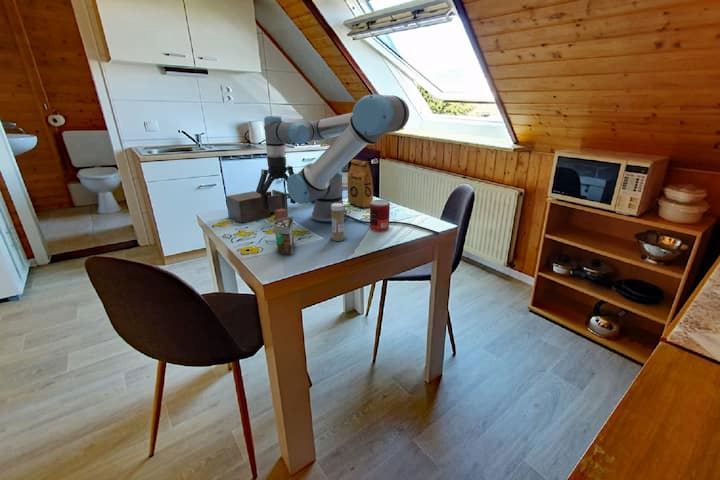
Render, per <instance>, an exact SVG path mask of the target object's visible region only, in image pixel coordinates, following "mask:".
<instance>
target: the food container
mask: <svg viewBox="0 0 720 480" xmlns="http://www.w3.org/2000/svg"><path fill="white" fill-rule="evenodd" d="M293 219H294V218H293V216H288V217H285V218H280V219H278V220H277V219H275V220H274V221H273V224H272V231H273V232H274V235H275V241H276V247H277V251H278V253H279V254H282V255H287V256H291V255H292V254H293V250H294V246H295V240H294V237H295V236H294V221H293Z"/></svg>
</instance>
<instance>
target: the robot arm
mask: <svg viewBox="0 0 720 480" xmlns="http://www.w3.org/2000/svg"><path fill="white" fill-rule="evenodd" d="M409 119H410V108H409V105H408V104H407V102H406V100H405V99H403V98H402V97H400V96H398V95H390V94H389V95H387V94H385V95H383V94H379V93H373V94H368V95H365V96H362V97H361V98H360V99H358V100H357V101H356V103H355V104H354V106H353V108H352V112H348V113H345V114H340V115H336V116H331V117H326V118H322V119H316V120H313V121H293V122H292V121H291V122H290V121H284V117H283V116H282V115H266V116H264V120H263V124H264V125H263V129H264V137H265V138H264V139H265V146H266V147H265V148H266V156H267V158H266V160H267V167H268V168H267V169H264V168H261V171H260V177H259V180H258V183H257V186H256V190H255V192H257V193H259V194H261V201H262V202H263V205H264V209H266V210H269V205H268V194H266V192H268V191H269V189H270V187H271V186H272V184H273V182H274V181H275V180H280V179H283V180H284V181H285V182H286V190H287V193H288V194H289V195H290V198H289V199H290V203H291V204H294V205H295V204H296V203H297V204H308V203H309V202H311V201H313V200H316V202H315V203H314V205H313V210H312V212H311V219H312V220H313V221H315V222H318V223H323V224H324V223H325V224H330V223H331V224H332V210H331V205H332V204H334V203H342V204H343V205H344V210H343V219H344V221H345V220H346V219H347V218H348V219H351V220H352V221H355V222H358V223H361V224H362V223H363V224H370V220H369V221H368V220H362V219H357V218H354V217H352V216H350V215H348V213H347V211H346V207H345V204H344V201H343V168H344V167H346V165H347V164H349V163H350V162H351V160H352V159H354V158H355V157H356V156H357V155H358V154H359V153H360V152H361V151H362V150H363V149H364V148H365V147H366V146H367V145H370V146H371V145H375V144H376V143H377V142H378V141H380V140H381V139H382V138H383V137H384V136H385V135H387V134H389V133H395V132H399V131H400V130H402V129H403V128H404V127H406V125H407V123H408V121H409ZM335 137H337V138H336V139H335V140H334V141H333V142H332V143H331V144H330V145H329V147H328V148H327V149H326V150H325V151H323V153H322V154H320V156H319V157H318V158H317V159H316V160H315V161H314V162H313V163H312V162H311V163H307V164H306V165H304V167H302V169H301V170H300V171H299V172H297V173H295V172H294V168H293V166H292V165H287V157H286V154H287V152H286V151H287V150H286V143H291V144H292V143H293V144H296V145H298V144H306V142H312V141H322V140H325V139H331V138H335ZM287 173H288V174H287ZM389 224H398V225H405V226H411V227H415V228H418V229H421V230H425V231H426V232H430V233H433V234H437V235H439V234H440V232H439V231H437V230H434V229H430V228H428V227H425V226H424V227H423V226H421V225H417V224H414V223H409V222H405V221H390V220H389Z"/></svg>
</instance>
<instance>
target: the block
mask: <svg viewBox="0 0 720 480" xmlns="http://www.w3.org/2000/svg"><path fill="white" fill-rule="evenodd" d="M274 211H275V212H274V219H275V220H278V219H280V218H285V217H289V216H288V215H289V213H288V210H285V209H283V208H282V209H277V210H274Z"/></svg>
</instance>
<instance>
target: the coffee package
mask: <svg viewBox="0 0 720 480" xmlns="http://www.w3.org/2000/svg"><path fill="white" fill-rule="evenodd" d="M350 163H351V164H350V167H349V170H348V173H347V203H348V204H351V205H355V206H357V207H360V208H363V209H365V208H368V207H370V202H371V201H373V200H374V185H373V176H372V172H371V168H370V165H369V162H368V161H366V160H365V161H364V160H360V159H354V158H352V159H351V160H350Z"/></svg>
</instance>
